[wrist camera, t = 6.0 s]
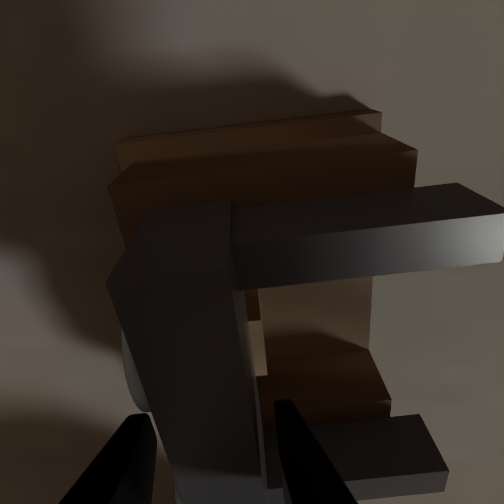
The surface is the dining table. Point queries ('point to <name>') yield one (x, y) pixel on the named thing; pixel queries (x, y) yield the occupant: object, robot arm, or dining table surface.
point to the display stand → (272, 192)
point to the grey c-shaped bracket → (238, 336)
